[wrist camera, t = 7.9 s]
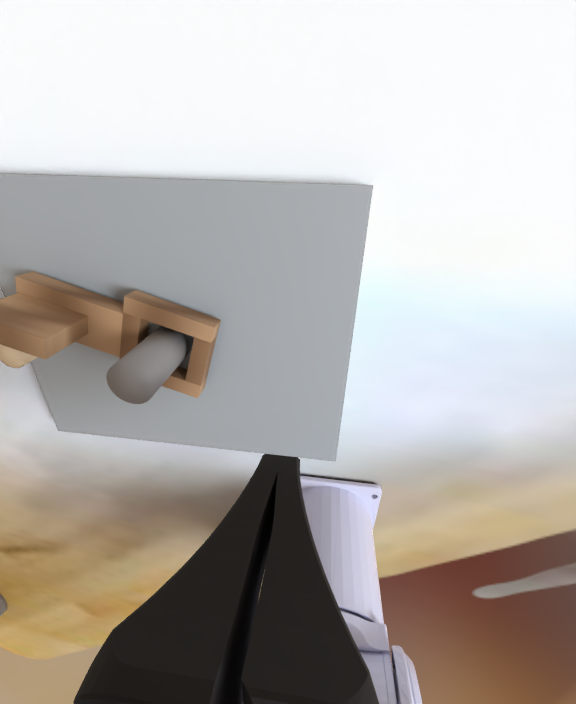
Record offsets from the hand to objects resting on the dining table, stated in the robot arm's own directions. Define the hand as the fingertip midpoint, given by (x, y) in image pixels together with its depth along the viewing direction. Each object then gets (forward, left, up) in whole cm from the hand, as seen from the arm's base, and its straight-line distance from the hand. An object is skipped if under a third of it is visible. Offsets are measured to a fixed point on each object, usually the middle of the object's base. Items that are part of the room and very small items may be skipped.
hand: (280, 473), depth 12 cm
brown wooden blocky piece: (+2, +11, -8) cm, 14 cm away
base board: (+1, +8, -10) cm, 13 cm away
